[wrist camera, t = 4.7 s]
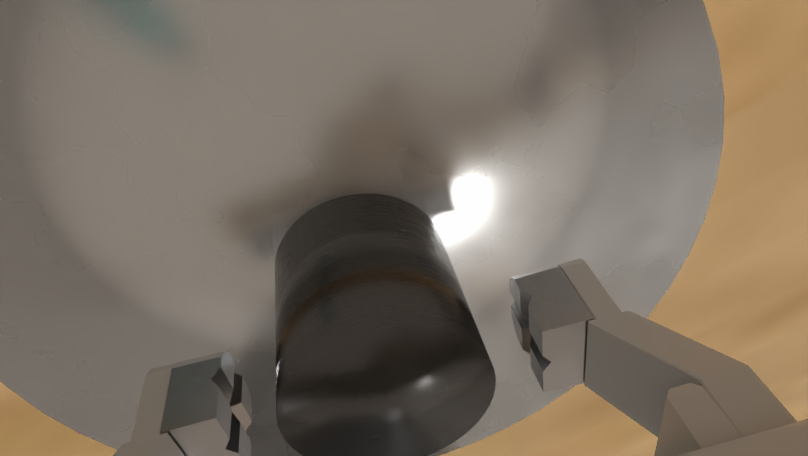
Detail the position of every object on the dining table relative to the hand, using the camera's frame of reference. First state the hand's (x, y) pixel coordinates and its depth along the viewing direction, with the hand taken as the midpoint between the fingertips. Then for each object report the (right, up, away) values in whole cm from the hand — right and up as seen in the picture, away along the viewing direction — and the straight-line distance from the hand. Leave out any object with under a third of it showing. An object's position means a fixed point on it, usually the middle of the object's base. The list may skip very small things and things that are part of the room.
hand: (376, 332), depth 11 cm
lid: (-1, +2, +3) cm, 4 cm away
